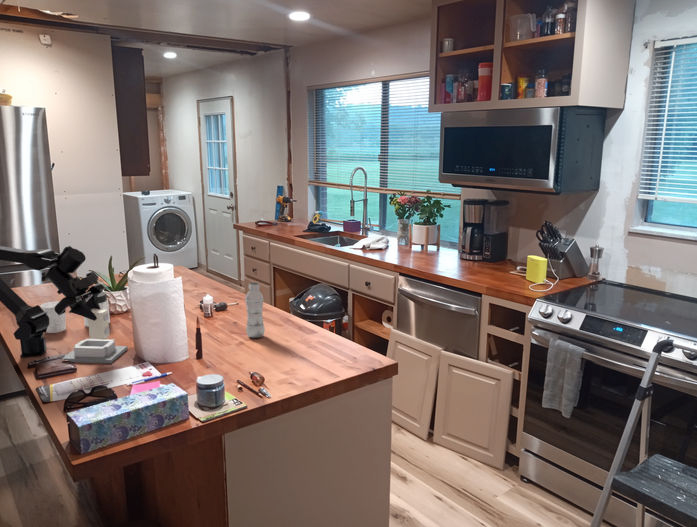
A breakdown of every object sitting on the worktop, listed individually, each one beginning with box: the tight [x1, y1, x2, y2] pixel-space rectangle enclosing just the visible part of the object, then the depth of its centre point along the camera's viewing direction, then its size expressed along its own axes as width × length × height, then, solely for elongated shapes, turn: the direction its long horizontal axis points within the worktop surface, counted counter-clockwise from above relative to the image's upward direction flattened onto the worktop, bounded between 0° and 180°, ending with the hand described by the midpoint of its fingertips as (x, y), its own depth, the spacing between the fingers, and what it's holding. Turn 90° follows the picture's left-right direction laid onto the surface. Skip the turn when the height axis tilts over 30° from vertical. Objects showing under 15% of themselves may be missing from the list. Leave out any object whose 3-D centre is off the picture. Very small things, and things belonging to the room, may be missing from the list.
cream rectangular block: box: [88, 309, 110, 340], centre depth 177 cm, size 6×3×9 cm, turn 81°
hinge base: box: [61, 338, 128, 364], centre depth 182 cm, size 16×12×4 cm
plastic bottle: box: [244, 282, 266, 339], centre depth 200 cm, size 6×7×20 cm
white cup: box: [40, 300, 67, 334], centre depth 205 cm, size 8×8×10 cm
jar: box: [83, 291, 111, 328], centre depth 211 cm, size 9×8×12 cm
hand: (99, 318), depth 177 cm, fingers closed on cream rectangular block, 3 cm apart
